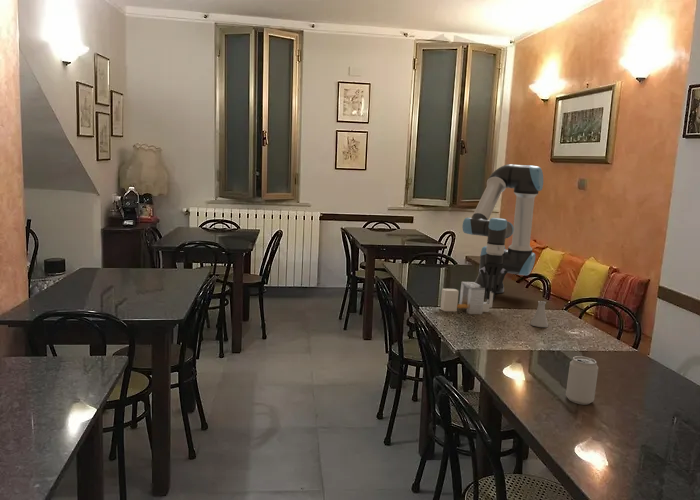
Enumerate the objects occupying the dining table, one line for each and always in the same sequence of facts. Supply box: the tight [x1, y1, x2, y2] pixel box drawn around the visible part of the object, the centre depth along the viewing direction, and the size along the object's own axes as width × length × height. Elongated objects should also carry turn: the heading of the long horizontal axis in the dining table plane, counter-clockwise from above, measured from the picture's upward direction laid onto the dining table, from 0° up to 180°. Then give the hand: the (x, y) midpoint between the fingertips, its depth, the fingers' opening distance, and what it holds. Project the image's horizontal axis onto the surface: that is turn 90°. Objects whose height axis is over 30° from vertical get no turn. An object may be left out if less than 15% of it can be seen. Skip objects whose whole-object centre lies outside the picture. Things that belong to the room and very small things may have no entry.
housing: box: [458, 281, 486, 315], centre depth 263 cm, size 6×12×12 cm, turn 11°
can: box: [565, 355, 599, 405], centre depth 167 cm, size 8×8×12 cm
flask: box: [529, 300, 549, 328], centre depth 246 cm, size 7×7×10 cm
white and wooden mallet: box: [440, 288, 491, 313], centre depth 262 cm, size 21×4×9 cm, turn 101°
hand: (489, 306), depth 265 cm, fingers closed
